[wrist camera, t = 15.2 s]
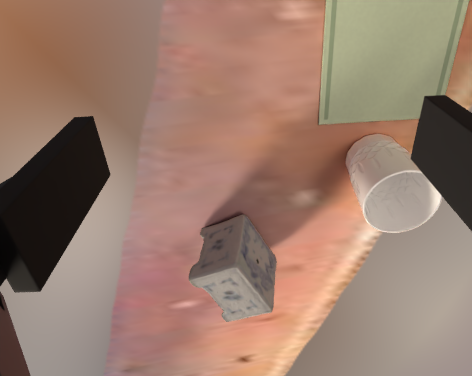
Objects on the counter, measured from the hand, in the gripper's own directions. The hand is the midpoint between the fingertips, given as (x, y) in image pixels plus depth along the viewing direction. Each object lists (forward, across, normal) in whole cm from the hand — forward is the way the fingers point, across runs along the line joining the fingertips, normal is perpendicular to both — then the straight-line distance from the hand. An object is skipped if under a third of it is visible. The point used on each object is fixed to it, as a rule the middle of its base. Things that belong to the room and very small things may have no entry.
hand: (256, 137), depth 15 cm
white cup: (+27, +15, -16) cm, 35 cm away
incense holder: (+27, -3, -29) cm, 40 cm away
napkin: (+27, +15, -2) cm, 31 cm away
